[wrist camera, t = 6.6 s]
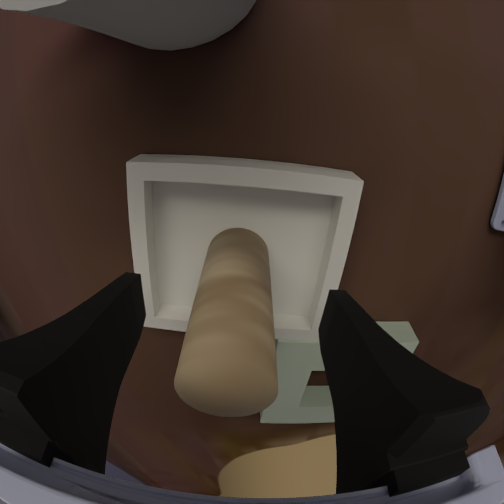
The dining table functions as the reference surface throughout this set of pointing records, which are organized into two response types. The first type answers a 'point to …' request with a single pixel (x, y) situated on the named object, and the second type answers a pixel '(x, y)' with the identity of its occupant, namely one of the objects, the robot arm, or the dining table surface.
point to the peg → (231, 331)
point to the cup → (144, 18)
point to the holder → (298, 372)
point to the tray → (240, 216)
